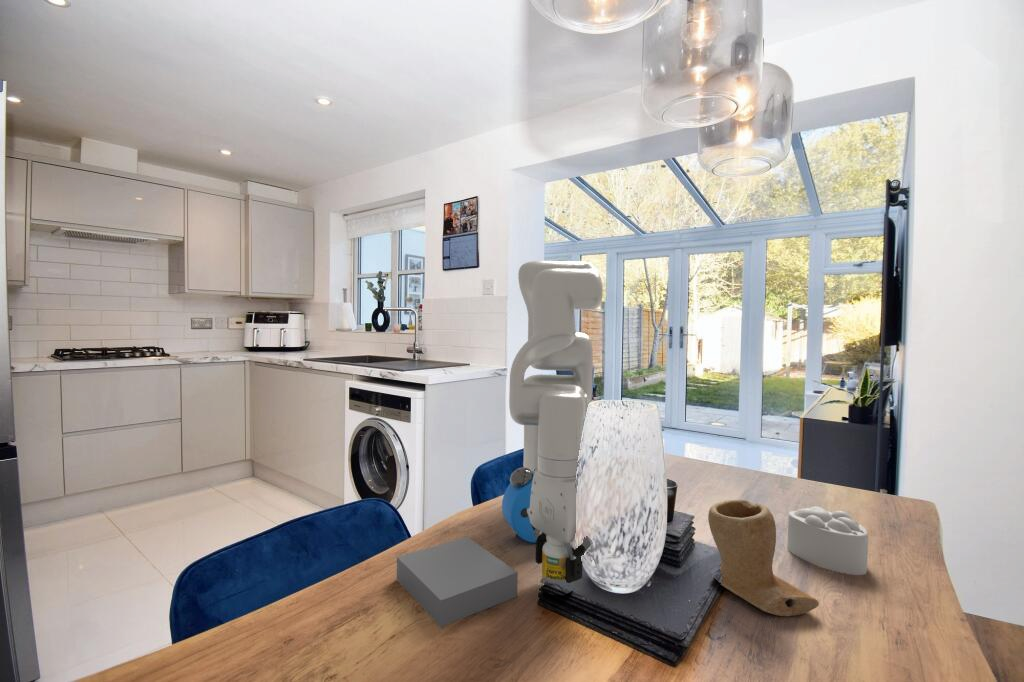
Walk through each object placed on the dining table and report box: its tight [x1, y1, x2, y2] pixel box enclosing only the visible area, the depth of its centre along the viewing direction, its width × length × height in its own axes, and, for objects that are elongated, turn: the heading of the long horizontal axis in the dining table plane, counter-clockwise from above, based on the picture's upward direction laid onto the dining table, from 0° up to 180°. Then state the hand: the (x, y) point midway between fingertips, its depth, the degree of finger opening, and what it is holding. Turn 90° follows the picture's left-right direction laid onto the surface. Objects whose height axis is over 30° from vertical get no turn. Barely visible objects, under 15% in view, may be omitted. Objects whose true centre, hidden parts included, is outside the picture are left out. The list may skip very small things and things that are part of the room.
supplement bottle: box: [541, 535, 569, 580], centre depth 81 cm, size 5×5×10 cm
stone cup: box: [707, 499, 820, 617], centre depth 80 cm, size 15×12×15 cm
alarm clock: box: [501, 467, 537, 544], centre depth 100 cm, size 13×6×15 cm, turn 112°
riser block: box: [396, 536, 519, 628], centre depth 81 cm, size 14×16×4 cm
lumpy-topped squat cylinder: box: [786, 505, 869, 576], centre depth 94 cm, size 10×13×9 cm
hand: (558, 569), depth 81 cm, fingers open, 6 cm apart
